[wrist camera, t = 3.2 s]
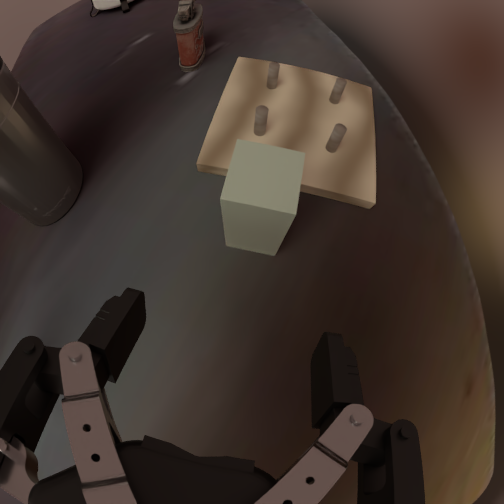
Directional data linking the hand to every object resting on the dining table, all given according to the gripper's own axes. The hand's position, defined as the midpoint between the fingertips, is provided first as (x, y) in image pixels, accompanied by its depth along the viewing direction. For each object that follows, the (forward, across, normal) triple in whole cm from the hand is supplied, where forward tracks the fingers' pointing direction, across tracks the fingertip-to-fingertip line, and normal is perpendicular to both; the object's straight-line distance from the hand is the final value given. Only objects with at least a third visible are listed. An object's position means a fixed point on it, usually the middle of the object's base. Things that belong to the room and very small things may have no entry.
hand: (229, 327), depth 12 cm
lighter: (+33, +14, -14) cm, 38 cm away
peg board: (+25, -2, -7) cm, 26 cm away
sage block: (+15, 0, +2) cm, 16 cm away
